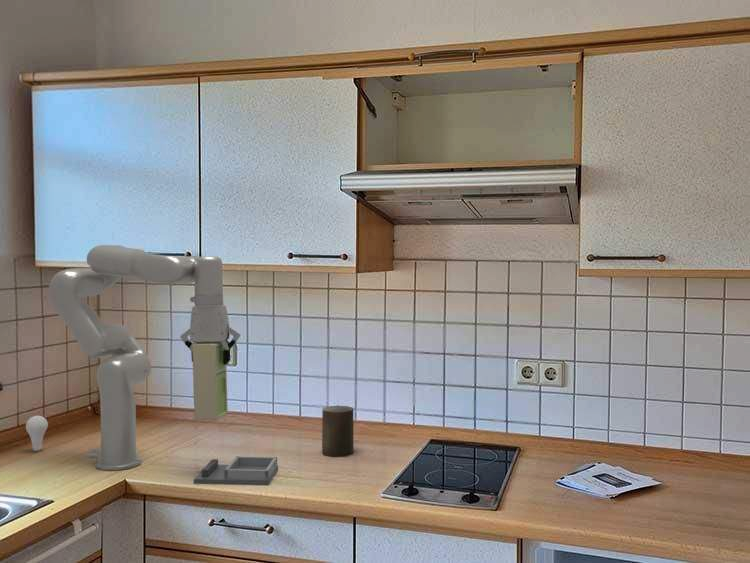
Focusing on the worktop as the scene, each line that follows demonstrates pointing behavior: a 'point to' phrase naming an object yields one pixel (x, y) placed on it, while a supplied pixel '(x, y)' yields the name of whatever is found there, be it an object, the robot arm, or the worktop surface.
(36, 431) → the lightbulb
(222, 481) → the tray
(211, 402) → the beige tall block
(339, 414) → the pillar candle
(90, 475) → the worktop surface
